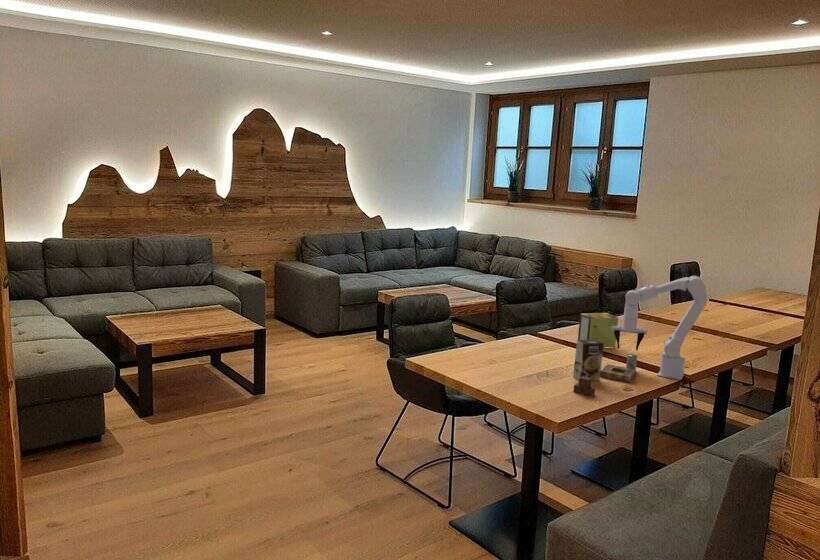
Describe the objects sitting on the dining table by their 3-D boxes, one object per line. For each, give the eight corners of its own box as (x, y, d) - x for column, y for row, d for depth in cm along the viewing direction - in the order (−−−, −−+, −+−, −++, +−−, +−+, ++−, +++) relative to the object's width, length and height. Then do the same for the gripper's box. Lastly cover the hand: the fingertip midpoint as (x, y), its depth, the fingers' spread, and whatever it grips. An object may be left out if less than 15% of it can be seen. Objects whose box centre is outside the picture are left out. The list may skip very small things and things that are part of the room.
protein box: (615, 348, 313) (619, 317, 310) (587, 349, 309) (590, 318, 306) (604, 342, 323) (607, 312, 320) (576, 343, 319) (579, 313, 316)
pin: (636, 370, 279) (638, 355, 277) (634, 373, 275) (636, 357, 274) (626, 368, 281) (628, 353, 279) (624, 371, 277) (626, 355, 276)
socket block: (635, 375, 272) (635, 369, 272) (629, 382, 262) (629, 377, 262) (606, 369, 278) (607, 364, 278) (599, 376, 268) (600, 371, 268)
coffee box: (580, 381, 261) (584, 343, 258) (572, 376, 267) (576, 339, 264) (600, 380, 263) (604, 343, 260) (592, 375, 269) (595, 338, 266)
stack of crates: (611, 394, 249) (613, 377, 248) (594, 404, 238) (596, 386, 237) (576, 384, 259) (578, 368, 258) (558, 393, 248) (559, 376, 247)
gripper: (647, 318, 277) (644, 348, 280) (613, 314, 282) (610, 344, 284) (648, 321, 271) (645, 352, 273) (612, 318, 275) (610, 348, 278)
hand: (627, 348), depth 278 cm, fingers open, 7 cm apart
